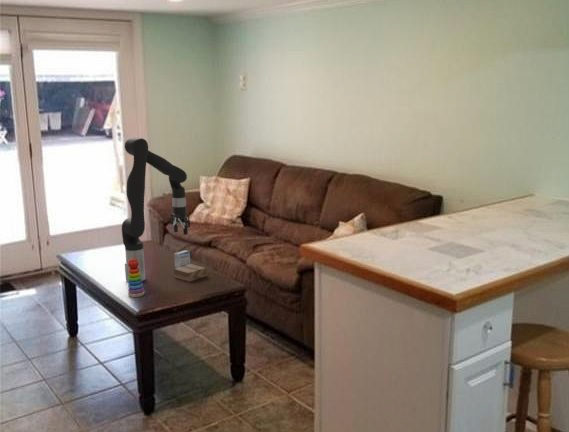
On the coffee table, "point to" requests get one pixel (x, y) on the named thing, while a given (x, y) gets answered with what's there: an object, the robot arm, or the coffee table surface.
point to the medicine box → (182, 258)
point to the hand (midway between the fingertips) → (180, 233)
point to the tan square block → (190, 272)
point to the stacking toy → (135, 279)
